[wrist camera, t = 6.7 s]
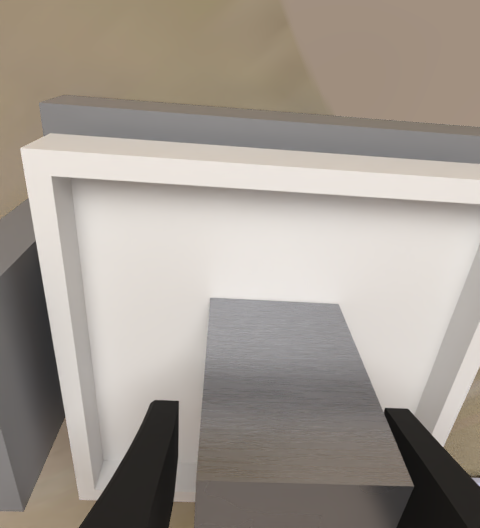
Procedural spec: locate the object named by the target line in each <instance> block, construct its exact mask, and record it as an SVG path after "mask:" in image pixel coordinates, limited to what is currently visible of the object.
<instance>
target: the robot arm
mask: <svg viewBox="0 0 480 528" xmlns="http://www.w3.org/2000/svg"><path fill="white" fill-rule="evenodd" d="M384 415H385V417H386V420H387V422H388V424H389V427H390V429H391V432H392V434H393V436H394V439H395V441H396V444H397V446H398V449H399V451H400V453H401V456H402V458H403V461H404V463H405V465H406V468H407V470H408V473H409V475H410V477H411V480H412V482H413V485H414V488H413V490H412V493H411V495H410V497H409V500H408V502H407V504H406V507H405V509H404V511H403V513H402V516H401V518H400V520H399V523H398V525H397V527H396V528H480V478H472V477H470V476H469V475H468V474H467V473H466V471H465V470H464V469H463V468H462V467H461V466H460V465H459V464H458V463H457V462H456V461H455V460H454V459H453V458H452V456H451V455H450V454H449V453H448V452H447V451H446V450H445V449H444V448H443V447H442V445H441V444H440V443H439V442H438V441H437V440H436V439H435V438H434V437H433V436H432V434H431V433H430V432H429V431H428V430H427V429H426V428H425V427H424V426H423V424H422V423H421V422H420V421H419V420H418V419H417V418H416V417H415V416H414V415H413V414H412V412H411V411H410V410H409V409H405V408H385V410H384ZM178 443H179V401H170V400H154V401H153V402H151V403H150V405H149V408H148V410H147V413H146V415H145V417H144V419H143V422H142V424H141V426H140V428H139V430H138V432H137V434H136V436H135V438H134V440H133V441H132V443H131V445H130V447H129V449H128V451H127V452H126V454H125V456H124V458H123V459H122V461H121V463H120V464H119V466H118V468H117V470H116V471H115V473H114V475H113V476H112V478H111V480H110V481H109V483H108V485H107V486H106V488H105V489H104V491H103V492H102V494H101V495H100V497H99V498H98V500H97V501H96V503H95V504H94V506H93V507H92V509H91V510H90V512H89V514H88V515H87V517H86V518H85V519H84V521H83V522H82V524H81V525H80V527H79V528H168V527H169V522H170V517H171V512H172V506H173V501H174V494H175V484H176V474H177V464H178Z"/></svg>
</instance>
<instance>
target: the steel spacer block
mask: <svg viewBox="0 0 480 528" xmlns="http://www.w3.org/2000/svg"><path fill="white" fill-rule="evenodd" d="M413 488H414V485H413V482H412V480H411V477H410V475H409V473H408V470H407V468H406V465H405V463H404V461H403V458H402V456H401V453H400V451H399V449H398V446H397V444H396V441H395V439H394V436H393V434H392V432H391V429H390V427H389V424H388V422H387V420H386V417H385V415H384V412H383V410H382V408H381V405H380V403H379V400H378V398H377V395H376V393H375V391H374V388H373V386H372V383H371V381H370V379H369V376H368V374H367V371H366V369H365V367H364V364H363V362H362V359H361V357H360V354H359V352H358V350H357V347H356V345H355V342H354V340H353V338H352V335H351V333H350V330H349V328H348V326H347V323H346V321H345V318H344V316H343V313H342V311H341V309H340V306H339V304H328V303H308V302H288V301H268V300H248V299H228V298H210V307H209V320H208V333H207V345H206V358H205V371H204V384H203V397H202V410H201V423H200V436H199V448H198V461H197V474H196V494H195V522H194V528H396V527H397V525H398V523H399V520H400V518H401V516H402V513H403V511H404V509H405V507H406V504H407V502H408V500H409V497H410V495H411V493H412V490H413Z"/></svg>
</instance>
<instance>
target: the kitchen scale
mask: <svg viewBox="0 0 480 528" xmlns="http://www.w3.org/2000/svg"><path fill="white" fill-rule="evenodd" d="M39 106H40V113H41V121H42V128H43V135H44V137H42V138H40V139H38V140H36V141H34V142H32V143H30V144H28V145H26V146H24V147H22V148H20V150H21V156H22V162H23V167H24V173H25V179H26V185H27V191H28V197H29V198H28V199H26V200H25V201H24V202H22V203H21V204H20V205H19V206H17V207H16V208H15V209H13V210H12V211H11V212H9V213H8V214H7V215H6V216H4V217H3V218H2V219H0V511H22V512H24V510H25V507H26V505H27V503H28V500H29V498H30V496H31V494H32V491H33V489H34V487H35V484H36V482H37V480H38V478H39V475H40V473H41V471H42V468H43V466H44V464H45V461H46V459H47V457H48V455H49V452H50V450H51V448H52V445H53V443H54V441H55V439H56V436H57V434H58V432H59V429H60V427H61V425H62V423H63V420H64V418H65V417H66V423H67V429H68V435H69V441H70V446H71V452H72V458H73V464H74V470H75V476H76V482H77V488H78V494H79V500H98V498H99V497H100V495H101V494H102V492H103V491H104V489H105V488H106V486H107V485H108V483H109V481H110V480H111V478H112V476H113V475H114V473H115V471H116V470H117V468H118V466H119V464H120V463H121V461H122V459H123V458H124V456H125V454H126V452H127V451H128V449H129V447H130V445H131V443H132V441H133V440H134V438H135V436H136V434H137V432H138V430H139V428H140V426H141V424H142V422H143V419H144V417H145V415H146V413H147V410H148V408H149V405H150V403H151V402H153V401H154V400H170V401H179V443H178V464H177V474H176V484H175V494H174V501H173V502H195V494H196V474H197V461H198V448H199V436H200V423H201V410H202V397H203V384H204V371H205V358H206V345H207V333H208V320H209V307H210V298H228V299H248V300H268V301H288V302H308V303H328V304H339V306H340V309H341V311H342V313H343V316H344V318H345V321H346V323H347V326H348V328H349V330H350V333H351V335H352V338H353V340H354V342H355V345H356V347H357V350H358V352H359V354H360V357H361V359H362V362H363V364H364V367H365V369H366V371H367V374H368V376H369V379H370V381H371V383H372V386H373V388H374V391H375V393H376V395H377V398H378V400H379V403H380V405H381V408H382V410H383V412H384V410H385V408H405V409H409V410H410V411H411V412H412V414H413V415H414V416H415V417H416V418H417V419H418V420H419V421H420V422H421V423H422V424H423V426H424V427H425V428H426V429H427V430H428V431H429V432H430V433H431V434H432V436H433V437H434V438H435V439H436V440H437V441H438V442H439V443H440V444H441V445H442V447H444V444H445V442H446V440H447V438H448V435H449V433H450V431H451V429H452V427H453V424H454V422H455V420H456V418H457V415H458V413H459V411H460V409H461V407H462V404H463V402H464V400H465V398H466V395H467V393H468V391H469V389H470V387H471V384H472V382H473V380H474V378H475V376H476V373H477V371H478V369H479V367H480V127H470V126H457V125H445V124H432V123H419V122H406V121H393V120H379V119H367V118H354V117H342V116H329V115H316V114H303V113H290V112H277V111H264V110H252V109H239V108H226V107H213V106H200V105H187V104H174V103H161V102H148V101H135V100H123V99H110V98H97V97H84V96H71V95H62V96H59V97H56V98H52V99H49V100H46V101H42V102H39Z"/></svg>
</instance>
